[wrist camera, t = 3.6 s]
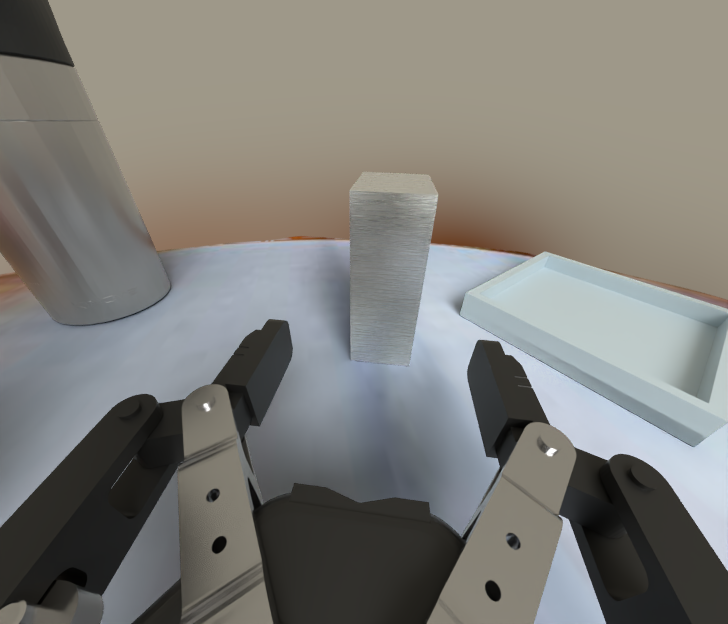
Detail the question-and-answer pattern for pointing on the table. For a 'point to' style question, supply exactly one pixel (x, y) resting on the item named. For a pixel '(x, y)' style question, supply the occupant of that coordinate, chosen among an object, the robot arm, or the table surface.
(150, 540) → the table surface
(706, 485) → the table surface
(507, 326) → the blue-grey tray
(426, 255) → the aluminium block
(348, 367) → the table surface
